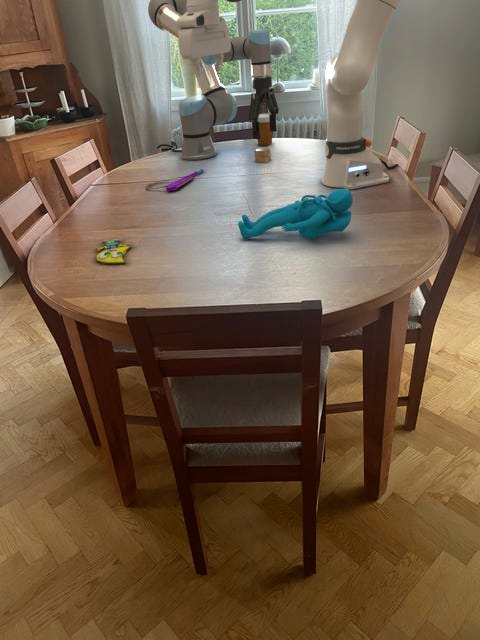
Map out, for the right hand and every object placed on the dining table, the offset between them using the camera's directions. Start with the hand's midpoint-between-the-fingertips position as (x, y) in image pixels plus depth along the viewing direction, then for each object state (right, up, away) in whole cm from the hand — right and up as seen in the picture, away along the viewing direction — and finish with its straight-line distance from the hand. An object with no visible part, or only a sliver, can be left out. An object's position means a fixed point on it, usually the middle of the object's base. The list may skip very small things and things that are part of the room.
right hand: (209, 73), depth 142 cm
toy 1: (-25, -55, -13) cm, 62 cm away
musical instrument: (-15, -22, +37) cm, 46 cm away
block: (+19, -9, +53) cm, 56 cm away
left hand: (+19, +1, +52) cm, 55 cm away
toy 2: (+24, -51, -13) cm, 58 cm away
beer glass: (+21, +7, +77) cm, 79 cm away
